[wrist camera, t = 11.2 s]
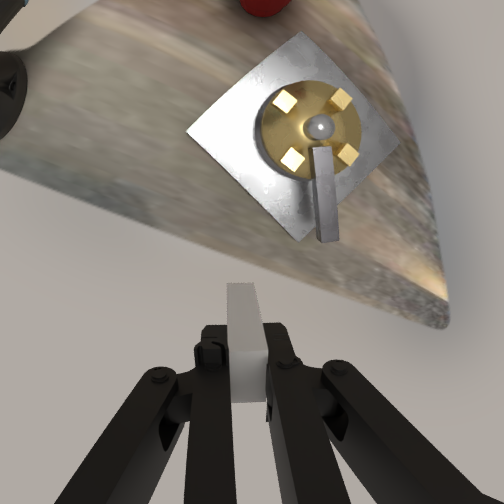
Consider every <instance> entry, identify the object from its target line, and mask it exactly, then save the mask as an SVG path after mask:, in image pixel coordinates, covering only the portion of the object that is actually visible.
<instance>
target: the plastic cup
mask: <svg viewBox="0 0 504 504" xmlns="http://www.w3.org/2000/svg"><path fill="white" fill-rule="evenodd" d="M290 1H291V0H240V3H241V6H242V7H243V8H244V9H245V10H246V11H247V12H248V13H250V14H252V15H254V16H258V17H268V16H272V15H274V14H276V13H278V12H280V11H281V9H282V8H283V7H284V6H286V5H287V4H288V3H289V2H290Z"/></svg>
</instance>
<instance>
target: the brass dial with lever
mask: <svg viewBox="0 0 504 504" xmlns="http://www.w3.org/2000/svg"><path fill="white" fill-rule="evenodd" d="M352 99H353V98H352V97H350V96H349V95H348V94H347V93H346V92H345V91H344V90H342V89H341V88H338V89H337V88H335V87H334V86H332V85H329V84H327V83H324V82H320V81H314V80H306V81H299V82H295V83H292V84H290V85H288V86H286V87H284V88H283V89H281V90H280V91H279V92H278V93H277V94H276V95H275V96H274V97H273V98H272V99H271V100H270V102H269V103H268V105H267V106H266V108H265V110H264V112H263V114H262V117H261V122H260V136H261V141H262V144H263V147H264V149H265V151H266V153H267V155H268V156H269V158H270V159H271V160H272V161H273V162H274V163H275V164H276V165H277V166H278V167H279V168H281V169H282V170H284V171H285V172H287V173H289V174H292V175H295V176H298V177H301V178H306V179H311V181H312V191H313V202H314V213H315V224H316V237H317V239H318V240H319V241H320V242H321V243H326V242H333V241H339V227H338V212H337V198H336V186H335V175H336V174H338V173H340V172H341V171H343V170H344V169H345V168H346V167H348V166H349V167H350V166H351V165H352V163H353V162H354V161H355V159H356V158H357V157H358V155H359V153H358V150H359V147H360V143H361V135H362V131H361V122H360V118H359V115H358V113H357V111H356V108H355V107H354V105H353V104H352V102H351V100H352Z"/></svg>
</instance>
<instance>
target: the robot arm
mask: <svg viewBox="0 0 504 504" xmlns="http://www.w3.org/2000/svg"><path fill="white" fill-rule="evenodd" d="M27 3H28V0H0V34H1V32H2V31H3V30H4V28H5V27H6V26H7V25H8V24H9V22H10V21H11V20H12V19H13V18H14V16H15V15H16V14H17V13H18V12H19V11H20V9H21V8H22V7H25V6H26V5H27ZM26 90H27V74H26V69H25V66H24V64H23V62H22V61H21V59H20V58H19V57H17V56H15V55H13V54H10V53H8V52H2V51H0V139H1V138H3V137H4V136H5V135H6V134H7V133H8V132H9V130H10V129H11V128H12V126H13V125H14V123H15V122H16V120H17V118H18V116H19V114H20V112H21V109H22V106H23V103H24V100H25V96H26ZM194 357H195V366H196V367H195V368H194V369H192V370H190V371H188V372H185V373H181V374H176V372H175V371H174V370H172V369H171V368H168V367H154V368H152V369H149V370H148V371H147V372H146V373H144V375H143V376H142V378H141V379H140V380H139V382H138V383H137V384H136V386H135V387H134V389H133V390H132V392H131V393H130V394H129V396H128V397H127V399H126V400H125V402H124V403H123V405H122V406H121V407H120V409H119V410H118V411H117V413H116V414H115V416H114V417H113V419H112V420H111V422H110V423H109V424H108V426H107V427H106V429H105V430H104V431H103V433H102V435H101V436H100V437H99V439H98V440H97V442H96V443H95V444H94V446H93V447H92V449H91V450H90V452H89V453H88V455H87V456H86V458H85V459H84V461H83V462H82V463H81V465H80V466H79V468H78V469H77V471H76V472H75V473H74V475H73V476H72V478H71V479H70V481H69V482H68V484H67V485H66V487H65V488H64V490H63V491H62V493H61V494H60V496H59V497H58V499H57V500H56V502H55V503H54V504H148V503H149V501H150V499H151V497H152V495H153V492H154V490H155V488H156V486H157V484H158V482H159V479H160V477H161V475H162V473H163V471H164V469H165V467H166V464H167V462H168V460H169V458H170V456H171V454H172V451H173V449H174V447H175V445H176V443H177V441H178V438H179V436H180V434H181V432H182V429H183V427H184V424H185V422H188V421H190V426H189V437H188V449H187V461H186V475H185V490H184V504H237V499H236V484H235V468H234V452H233V432H232V412H231V403H245V402H265V401H266V397H267V413H266V414H267V415H266V422H269V426H270V433H271V439H272V445H273V451H274V457H275V463H276V469H277V474H278V481H279V487H280V493H281V498H282V504H351V502H350V499H349V496H348V493H347V490H346V487H345V484H344V481H343V478H342V475H341V472H340V469H339V466H338V463H337V460H336V458H335V455H334V452H333V449H332V446H331V444H330V441H331V442H332V443H333V445H334V446H335V448H336V449H337V450H338V452H339V453H340V454H341V456H342V457H343V459H344V460H345V461H346V463H347V464H348V465H349V467H350V468H351V469H352V471H353V472H354V474H355V475H356V476H357V478H358V479H359V480H360V482H361V483H362V484H363V486H364V487H365V488H366V490H367V491H368V492H369V494H370V495H371V496H372V498H373V499H374V500H375V502H376V503H377V504H504V503H503V502H500V501H498V500H496V499H494V498H491V497H489V496H487V495H485V494H482V493H481V492H480V491H479V490H478V489H477V488H476V487H475V486H474V485H473V484H472V483H471V482H470V481H469V480H468V479H467V478H466V477H465V476H464V475H463V474H462V473H461V472H460V471H459V470H458V469H456V467H455V466H454V465H453V464H452V463H451V462H449V460H448V459H446V457H444V456H443V455H442V454H441V453H440V452H439V451H438V450H437V449H436V448H435V447H434V446H433V445H432V444H431V443H430V442H429V441H428V440H427V439H426V438H425V437H424V436H423V435H422V434H421V433H420V432H419V431H418V430H417V429H416V428H415V427H414V426H413V425H412V424H411V423H410V422H409V421H408V420H407V419H406V418H405V417H404V416H403V415H402V414H401V413H400V412H399V411H398V410H397V409H396V408H395V407H394V406H393V405H392V404H391V403H390V402H389V401H388V400H387V399H386V398H385V397H384V396H383V395H382V394H381V393H380V392H379V391H378V390H377V389H376V388H375V387H374V386H373V385H372V384H371V383H370V382H369V381H368V380H367V379H366V378H365V377H364V376H363V375H362V374H361V373H360V372H359V371H358V370H357V369H356V368H355V367H354V366H353V365H352V364H350V363H349V362H346V361H344V360H330V361H328V362H326V363H325V364H324V365H323V368H314V367H308V366H306V365H303V362H302V361H301V359H300V358H298V357H297V356H295V353H294V350H293V347H292V344H291V341H290V338H289V335H288V332H287V329H286V327H285V326H284V325H282V324H281V323H262V319H261V314H260V310H259V305H258V300H257V296H256V291H255V287H254V283H227V325H206V326H205V328H204V329H203V330H202V333H201V342H199V343H198V344H197V345H195V347H194ZM329 439H330V440H329Z"/></svg>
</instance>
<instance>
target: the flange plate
mask: <svg viewBox="0 0 504 504" xmlns="http://www.w3.org/2000/svg"><path fill="white" fill-rule="evenodd" d="M306 80H314V81H320V82H324V83H327V84H329V85H332V86H334V87H335V88H337V89H338V88H341V89H342V90H344V91H345V92H346V93H347V94H348V95H349V96H350V97H352V98H353V99H352V100H351V102H352V104H353V105H354V107H355V108H356V111H357V113H358V115H359V118H360V122H361V131H362V135H361V143H360V147H359V150H358V153H359V155H358V157H357V158H356V159H355V161H354V162H353V163H352V165H351V166H350V167H349V166H348V167H346V168H345V169H344V170H343V171H341V172H340V173H338V174H336V175H335V186H336V198H337V205H338V204H339V203H340V202H341V201H342V200H343V199H344V198H345V197H346V196H347V195H348V194H349V193H350V192H351V191H352V190H353V189H354V188H355V187H356V186H358V185H359V184H360V183H361V182H362V181H363V180H364V179H365V178H366V177H367V176H368V175H369V174H370V173H371V172H372V171H373V170H374V169H375V168H376V167H377V166H378V165H379V164H380V163H381V162H382V161H383V160H384V159H385V158H386V157H387V156H388V155H389V154H390V153H391V152H392V151H393V150H394V149H395V148H396V147H397V146H398V145H399V144H400V141H399V140H398V139H397V137H396V136H395V134H394V133H393V132H392V130H391V129H390V128H389V127H388V125H387V124H386V123H385V121H384V120H383V119H382V118H381V116H380V115H379V114H378V112H377V111H376V110H375V109H374V108H373V106H372V105H371V104H370V103H369V101H368V100H367V99H366V98H365V97H364V96H363V94H362V93H361V92H360V91H359V90H358V89H357V87H356V86H355V85H354V84H353V83H352V82H351V81H350V80H349V78H348V77H347V76H346V75H345V74H344V73H343V72H342V71H341V70H340V69H339V68H338V66H337V65H336V64H335V63H334V62H333V61H332V60H331V59H330V58H329V57H328V56H327V55H326V54H325V53H324V52H323V51H322V50H321V49H320V48H319V47H318V46H317V45H316V44H315V43H314V42H313V41H312V40H311V39H310V38H309V37H308V36H307V35H305V34H304V33H303V32H302V31H300V32H299V33H298V34H296V35H295V36H294V37H292V38H291V39H290V40H288V41H287V42H286V43H285V44H283V45H282V46H281V47H279V48H278V49H277V50H276V51H274V52H273V53H272V54H271V55H269V56H268V57H267V58H266V59H265V60H263V61H262V62H261V63H260V64H258V65H257V66H256V67H255V68H254V69H253V70H251V71H250V72H249V73H248V74H247V75H246V76H244V77H243V78H242V79H241V80H240V81H239V82H238V83H236V84H235V85H234V86H233V87H232V88H231V89H230V90H229V91H227V92H226V93H225V94H224V95H223V96H222V97H221V98H220V99H219V100H218V101H217V102H216V103H214V104H213V105H212V106H211V107H210V108H209V109H208V110H207V111H206V112H205V113H204V114H203V115H202V116H201V117H200V118H199V119H198V120H197V121H196V122H195V123H194V124H193V125H192V126H191V127H190V128H189V129H188V130H187V131H186V132H187V133H188V134H189V135H190V136H191V137H193V138H194V139H195V140H196V141H197V142H198V143H199V144H200V145H201V146H202V147H203V148H204V149H205V150H206V151H207V152H208V153H209V154H210V155H211V156H212V157H213V158H214V159H215V160H216V161H218V162H219V163H220V164H221V165H222V166H223V167H224V168H225V169H226V170H227V171H228V172H229V173H230V174H231V175H232V176H233V177H234V178H235V179H236V180H237V181H238V182H239V183H240V184H241V185H242V186H243V187H244V188H245V189H246V190H247V191H248V192H249V193H250V194H251V195H252V196H253V197H254V198H255V199H256V200H257V201H258V202H259V203H260V204H261V205H262V206H263V207H264V208H265V209H266V210H267V211H268V212H269V213H270V214H271V215H272V216H273V217H274V218H275V219H276V220H277V221H278V222H279V223H280V224H281V225H282V226H283V227H284V228H285V229H286V230H287V232H288V233H289V234H290V235H291V236H292V237H293V238H294V239H295V240H296V241H297V242H300V241H301V240H302V239H303V238H304V237H305V236H306V235H307V234H308V233H309V232H310V231H311V230H312V229H313V228H314V227H315V226H316V224H315V213H314V202H313V191H312V181H311V179H306V178H301V177H298V176H295V175H292V174H289V173H287V172H285V171H284V170H282V169H281V168H279V167H278V166H277V165H276V164H275V163H274V162H273V161H272V160H271V159H270V158H269V156H268V155H267V153H266V151H265V149H264V147H263V144H262V141H261V136H260V122H261V117H262V114H263V112H264V110H265V108H266V106H267V105H268V103H269V102H270V100H271V99H272V98H273V97H274V96H275V95H276V94H277V93H278V92H279V91H280V90H281V89H283V88H284V87H286V86H288V85H290V84H292V83H295V82H299V81H306Z"/></svg>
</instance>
